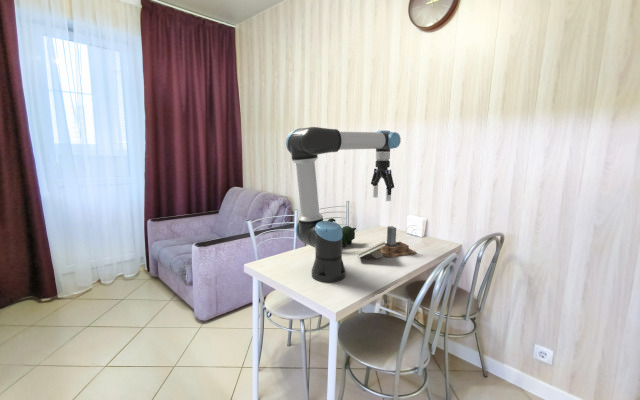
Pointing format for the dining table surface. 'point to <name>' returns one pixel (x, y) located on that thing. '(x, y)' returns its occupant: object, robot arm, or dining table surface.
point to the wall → (373, 250)
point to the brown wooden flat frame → (396, 250)
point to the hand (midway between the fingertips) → (381, 199)
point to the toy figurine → (346, 233)
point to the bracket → (391, 236)
